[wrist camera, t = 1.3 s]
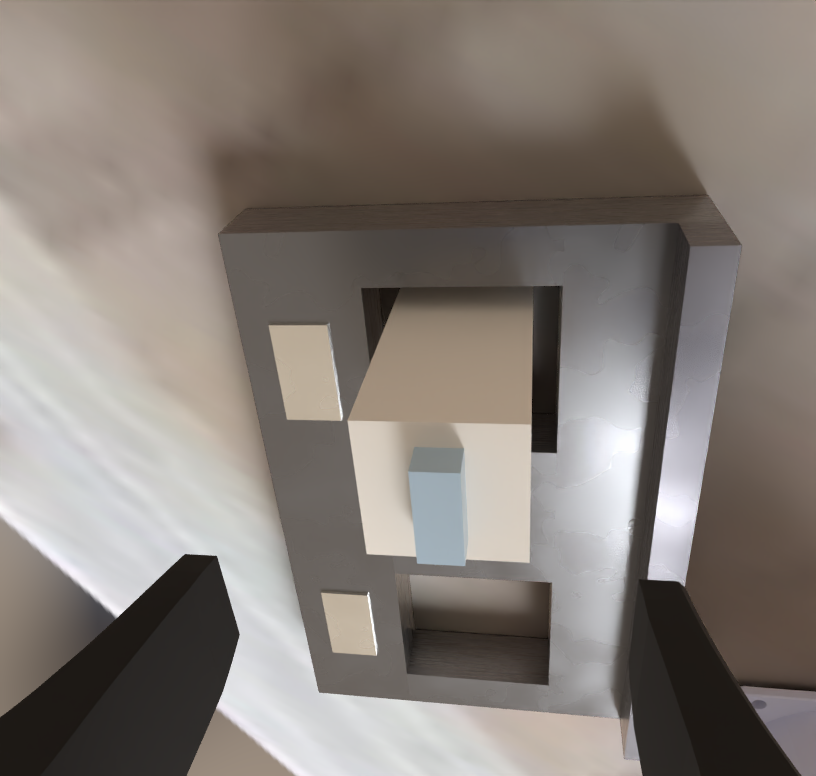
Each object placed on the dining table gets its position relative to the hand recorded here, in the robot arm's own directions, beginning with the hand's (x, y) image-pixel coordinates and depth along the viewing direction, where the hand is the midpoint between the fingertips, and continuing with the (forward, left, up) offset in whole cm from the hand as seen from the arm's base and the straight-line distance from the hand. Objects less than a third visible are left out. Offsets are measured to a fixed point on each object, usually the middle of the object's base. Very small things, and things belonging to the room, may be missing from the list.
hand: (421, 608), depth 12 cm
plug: (0, 0, -10) cm, 10 cm away
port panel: (0, +5, -10) cm, 11 cm away
